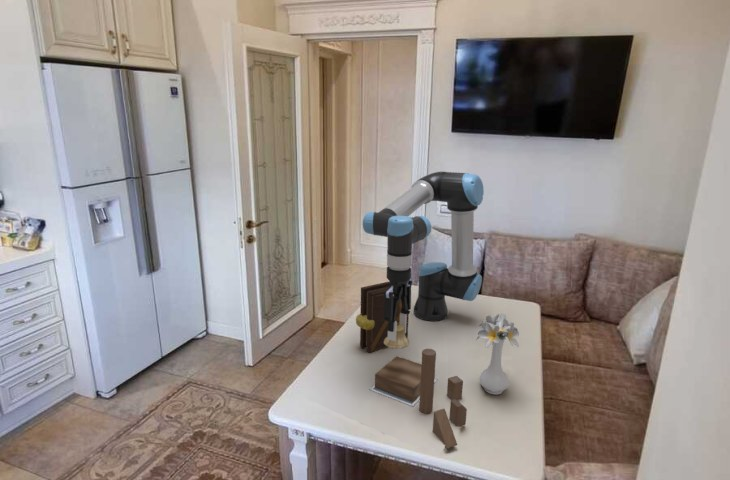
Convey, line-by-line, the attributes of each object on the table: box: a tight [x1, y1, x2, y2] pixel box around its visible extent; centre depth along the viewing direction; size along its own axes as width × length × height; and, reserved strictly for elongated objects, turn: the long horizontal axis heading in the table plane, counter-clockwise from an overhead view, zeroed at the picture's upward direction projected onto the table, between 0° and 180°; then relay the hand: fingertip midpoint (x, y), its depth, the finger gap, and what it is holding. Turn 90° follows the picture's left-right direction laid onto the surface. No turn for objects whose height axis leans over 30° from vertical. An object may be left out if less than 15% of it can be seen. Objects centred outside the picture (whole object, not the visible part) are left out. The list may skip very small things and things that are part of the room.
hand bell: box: [384, 299, 410, 349], centre depth 141 cm, size 8×8×16 cm
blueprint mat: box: [368, 378, 438, 408], centre depth 147 cm, size 18×16×1 cm
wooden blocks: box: [418, 348, 468, 450], centre depth 129 cm, size 17×20×20 cm
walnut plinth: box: [374, 355, 422, 402], centre depth 146 cm, size 14×14×5 cm
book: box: [355, 280, 410, 355], centre depth 170 cm, size 22×8×25 cm, turn 123°
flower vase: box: [475, 312, 520, 396], centre depth 144 cm, size 13×18×25 cm
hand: (396, 335), depth 142 cm, fingers closed on hand bell, 6 cm apart
